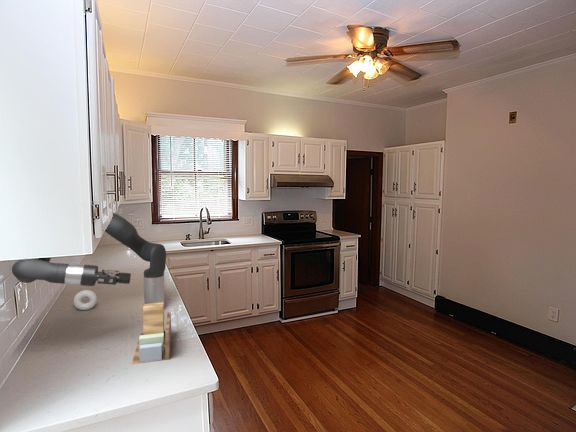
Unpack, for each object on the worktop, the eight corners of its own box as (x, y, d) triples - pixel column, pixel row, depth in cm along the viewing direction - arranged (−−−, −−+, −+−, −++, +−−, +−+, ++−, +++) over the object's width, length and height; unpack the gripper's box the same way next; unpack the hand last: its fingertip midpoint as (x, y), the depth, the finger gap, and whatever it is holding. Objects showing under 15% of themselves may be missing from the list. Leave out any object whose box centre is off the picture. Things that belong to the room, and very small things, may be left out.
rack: (138, 342, 132) (138, 314, 131) (171, 338, 135) (170, 311, 134) (131, 367, 113) (130, 335, 112) (169, 362, 117) (168, 331, 116)
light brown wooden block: (144, 341, 130) (144, 303, 128) (164, 339, 132) (163, 302, 131) (143, 346, 126) (143, 307, 125) (163, 344, 128) (163, 305, 127)
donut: (73, 312, 161) (72, 292, 160) (74, 310, 164) (73, 290, 163) (97, 309, 165) (96, 289, 164) (97, 307, 168) (97, 287, 167)
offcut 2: (140, 358, 117) (140, 345, 116) (162, 356, 119) (161, 342, 119) (139, 362, 115) (139, 348, 114) (161, 359, 117) (161, 345, 116)
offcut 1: (140, 354, 120) (140, 335, 120) (164, 351, 123) (163, 332, 122) (139, 358, 117) (138, 339, 117) (163, 355, 120) (163, 336, 119)
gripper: (80, 268, 116) (131, 272, 122) (86, 261, 129) (132, 265, 135) (76, 289, 115) (128, 292, 122) (82, 281, 128) (129, 284, 135)
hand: (130, 278), depth 129 cm, fingers open, 8 cm apart
